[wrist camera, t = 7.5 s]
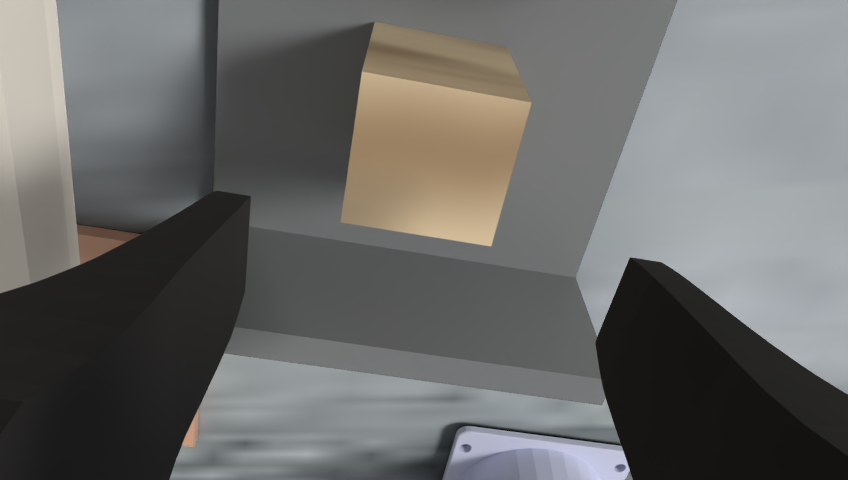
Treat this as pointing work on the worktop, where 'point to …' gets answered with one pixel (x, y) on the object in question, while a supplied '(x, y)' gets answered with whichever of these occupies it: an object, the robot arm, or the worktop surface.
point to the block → (434, 135)
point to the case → (416, 254)
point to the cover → (33, 148)
